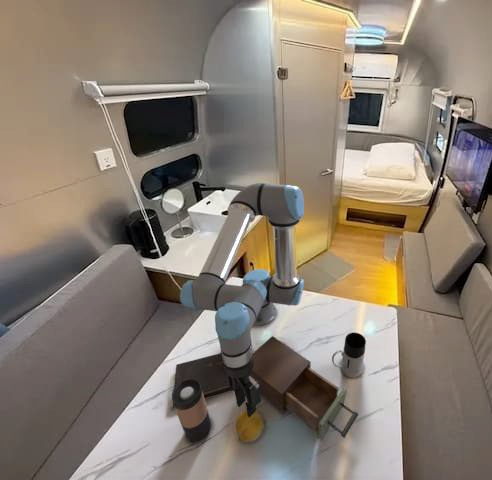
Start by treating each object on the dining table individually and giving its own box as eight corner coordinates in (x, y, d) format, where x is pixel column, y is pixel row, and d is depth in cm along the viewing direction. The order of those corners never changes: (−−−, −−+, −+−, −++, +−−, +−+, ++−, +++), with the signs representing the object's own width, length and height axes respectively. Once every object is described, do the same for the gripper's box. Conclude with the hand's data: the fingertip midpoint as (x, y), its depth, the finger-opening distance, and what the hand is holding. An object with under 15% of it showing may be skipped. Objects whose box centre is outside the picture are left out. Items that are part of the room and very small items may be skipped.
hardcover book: (177, 368, 104) (176, 364, 103) (240, 351, 111) (239, 348, 110) (173, 409, 91) (172, 405, 90) (244, 387, 98) (244, 383, 97)
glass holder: (367, 370, 106) (372, 344, 98) (337, 388, 99) (340, 361, 92) (353, 354, 112) (357, 327, 105) (324, 369, 106) (326, 342, 98)
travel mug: (211, 439, 84) (199, 401, 74) (184, 447, 82) (168, 408, 72) (212, 414, 90) (202, 375, 80) (187, 420, 88) (173, 382, 78)
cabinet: (310, 379, 102) (310, 361, 97) (282, 412, 91) (281, 394, 86) (273, 353, 111) (272, 335, 106) (245, 380, 100) (242, 362, 95)
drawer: (360, 416, 90) (363, 401, 86) (338, 455, 80) (340, 440, 76) (304, 375, 102) (304, 361, 98) (278, 405, 92) (277, 390, 88)
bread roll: (245, 449, 82) (244, 442, 80) (232, 424, 87) (230, 417, 85) (269, 430, 86) (268, 423, 84) (255, 407, 92) (254, 400, 90)
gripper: (272, 363, 69) (276, 415, 80) (229, 331, 77) (238, 382, 89) (249, 386, 63) (257, 438, 75) (205, 349, 72) (218, 401, 83)
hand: (246, 408), depth 82 cm, fingers open, 4 cm apart
